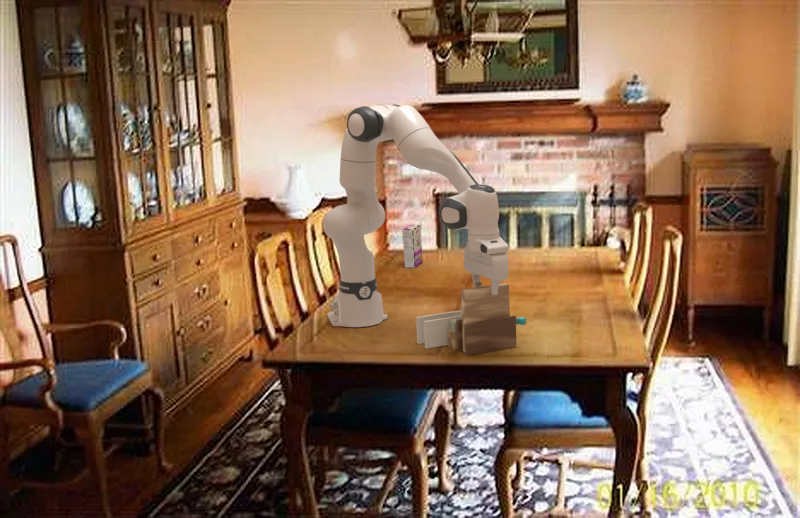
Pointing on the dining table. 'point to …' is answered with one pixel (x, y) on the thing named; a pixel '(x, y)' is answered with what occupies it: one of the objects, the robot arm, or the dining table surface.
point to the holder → (435, 328)
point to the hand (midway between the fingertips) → (485, 291)
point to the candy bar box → (412, 246)
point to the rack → (487, 335)
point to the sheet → (484, 304)
